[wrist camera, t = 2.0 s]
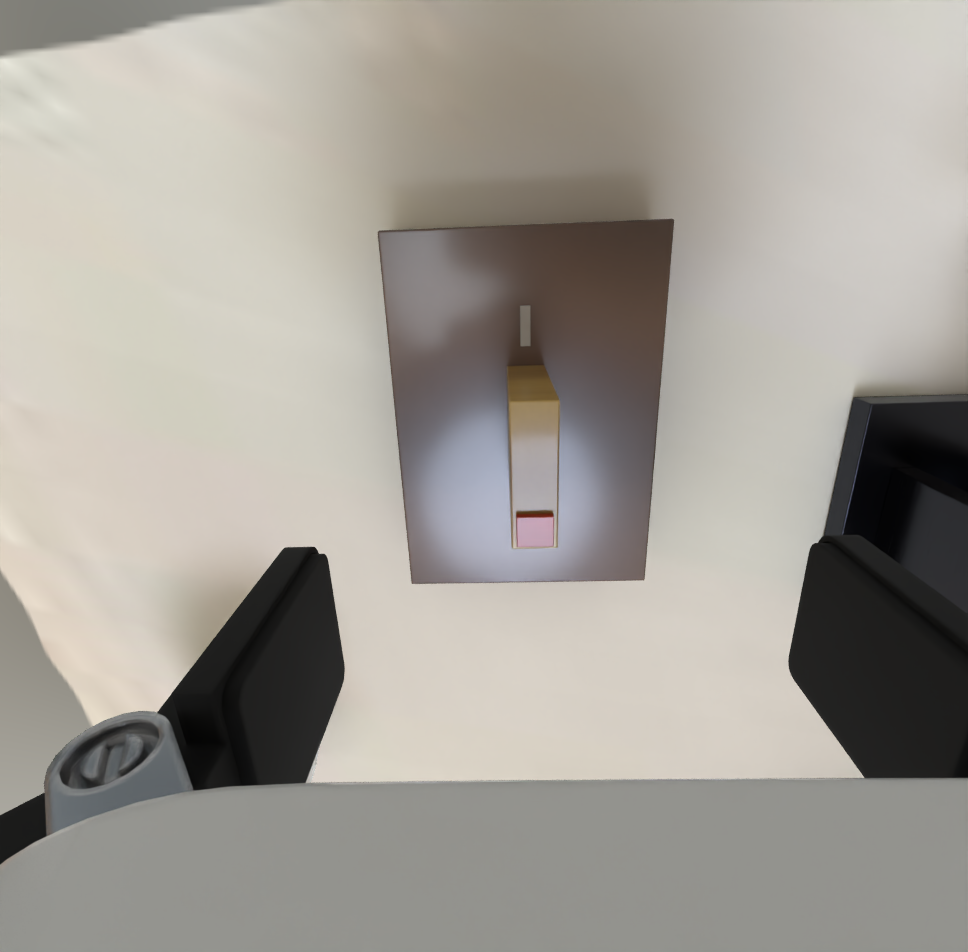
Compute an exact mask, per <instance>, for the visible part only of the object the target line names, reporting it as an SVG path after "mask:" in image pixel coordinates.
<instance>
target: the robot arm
mask: <svg viewBox="0 0 968 952" xmlns="http://www.w3.org/2000/svg"><path fill="white" fill-rule="evenodd" d="M788 662H789V669H790V673H791V675H792V677H793V679H794V681H795V682H796V683H797V685H798V686H799V687H800V689H801V690H802V692H803V693H804V694H805V696H806V697H807V699H808V700H809V701H810V703H811V704H812V705H813V707H814V708H815V710H816V711H817V712H818V714H819V715H820V717H821V718H822V719H823V721H824V722H825V723H826V725H827V726H828V728H829V729H830V730H831V732H832V733H833V734H834V736H835V737H836V739H837V740H838V741H839V743H840V744H841V746H842V747H843V748H844V750H845V751H846V752H847V754H848V755H849V757H850V758H851V759H852V761H853V762H854V764H855V765H856V766H857V768H858V769H859V770H860V772H861V773H862V775H863V776H864V777H865V778H783V779H623V780H489V781H408V782H327V783H306V781H307V778H308V775H309V773H310V770H311V767H312V765H313V762H314V759H315V757H316V754H317V751H318V749H319V746H320V743H321V741H322V738H323V735H324V733H325V730H326V727H327V725H328V722H329V719H330V717H331V714H332V711H333V709H334V706H335V703H336V701H337V698H338V695H339V693H340V690H341V687H342V684H343V680H344V671H345V668H344V660H343V653H342V647H341V640H340V634H339V628H338V621H337V615H336V609H335V602H334V596H333V590H332V583H331V577H330V570H329V564H328V559H327V556H326V555H325V554H319V553H318V551H317V549H316V548H315V547H288V548H284V549H283V550H282V551H281V552H280V554H279V555H278V556H277V558H276V559H275V560H274V561H273V563H272V564H271V565H270V567H269V568H268V569H267V571H266V572H265V573H264V574H263V576H262V577H261V578H260V580H259V581H258V582H257V584H256V585H255V586H254V587H253V589H252V590H251V591H250V593H249V594H248V595H247V597H246V598H245V599H244V600H243V602H242V603H241V604H240V606H239V607H238V608H237V609H236V611H235V612H234V613H233V615H232V616H231V617H230V619H229V620H228V621H227V622H226V624H225V625H224V626H223V628H222V629H221V630H220V632H219V633H218V634H217V635H216V637H215V638H214V639H213V641H212V642H211V643H210V644H209V646H208V647H207V648H206V650H205V651H204V652H203V654H202V655H201V656H200V657H199V659H198V660H197V661H196V663H195V664H194V665H193V667H192V668H191V669H190V670H189V672H188V673H187V674H186V676H185V677H184V678H183V679H182V681H181V682H180V683H179V685H178V686H177V687H176V689H175V690H174V691H173V692H172V694H171V695H170V697H169V698H168V699H167V701H166V702H165V703H164V704H163V706H162V707H161V708H160V710H159V711H158V712H157V713H156V712H149V711H137V712H131V713H125V714H122V715H119V716H116V717H113V718H110V719H107V720H104V721H103V722H101V723H99V724H97V725H95V726H93V727H91V728H89V729H87V730H86V731H84V732H83V733H81V734H80V735H78V736H77V737H76V738H74V739H73V740H71V741H70V742H69V743H68V744H67V745H66V746H65V747H64V748H63V749H62V750H61V751H60V752H59V753H58V754H57V755H56V756H55V758H54V759H53V761H52V762H51V764H50V766H49V767H48V769H47V772H46V776H45V781H44V789H45V793H43V794H41V795H39V796H37V797H35V798H33V799H31V800H29V801H27V802H25V803H23V804H21V805H19V806H18V807H16V808H14V809H12V810H10V811H8V812H6V813H4V814H2V815H0V952H968V614H967V613H966V612H965V611H963V610H962V609H960V608H959V607H958V606H956V605H955V604H954V603H952V602H951V601H950V600H948V599H947V598H945V597H944V596H943V595H941V594H940V593H939V592H937V591H936V590H934V589H933V588H932V587H930V586H929V585H928V584H926V583H925V582H924V581H922V580H921V579H919V578H918V577H917V576H915V575H914V574H913V573H911V572H910V571H908V570H907V569H906V568H904V567H903V566H902V565H900V564H899V563H898V562H896V561H895V560H893V559H892V558H891V557H889V556H888V555H887V554H885V553H884V552H882V551H881V550H880V549H878V548H877V547H876V546H874V545H873V544H872V543H870V542H869V541H867V540H866V539H865V538H863V537H862V536H859V535H826V536H824V537H822V538H821V539H820V541H819V542H818V543H815V544H813V545H812V546H811V548H810V551H809V556H808V561H807V566H806V571H805V577H804V582H803V587H802V592H801V597H800V602H799V607H798V613H797V618H796V623H795V628H794V633H793V638H792V643H791V649H790V654H789V661H788Z"/></svg>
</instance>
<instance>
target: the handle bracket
mask: <svg viewBox="0 0 968 952" xmlns="http://www.w3.org/2000/svg"><path fill="white" fill-rule="evenodd" d="M826 535H859V536H862V537H863V538H865V539H866V540H867V541H869V542H870V543H872V544H873V545H874V546H876V547H877V548H878V549H880V550H881V551H882V552H884V553H885V554H887V555H888V556H889V557H891V558H892V559H893V560H895V561H896V562H898V563H899V564H900V565H902V566H903V567H904V568H906V569H907V570H908V571H910V572H911V573H913V574H914V575H915V576H917V577H918V578H919V579H921V580H922V581H924V582H925V583H926V584H928V585H929V586H930V587H932V588H933V589H934V590H936V591H937V592H939V593H940V594H941V595H943V596H944V597H945V598H947V599H948V600H950V601H951V602H952V603H954V604H955V605H956V606H958V607H959V608H960V609H962V610H963V611H965V612H966V613H967V614H968V394H957V395H922V396H886V397H855V398H854V399H853V404H852V408H851V413H850V418H849V422H848V427H847V432H846V436H845V441H844V446H843V450H842V455H841V460H840V464H839V469H838V474H837V478H836V483H835V488H834V492H833V497H832V502H831V506H830V511H829V516H828V520H827V525H826V530H825V534H824V536H826Z"/></svg>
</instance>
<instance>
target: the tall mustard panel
mask: <svg viewBox="0 0 968 952" xmlns="http://www.w3.org/2000/svg"><path fill="white" fill-rule="evenodd" d="M507 414H508V463H509V496H510V520H511V544H512V549H535V548H557V547H558V502H559V437H560V400H559V398H558V395H557V393H556V391H555V389H554V386H553V384H552V382H551V379H550V377H549V375H548V373H547V370H546V368H545V366H544V365H529V366H507Z"/></svg>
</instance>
